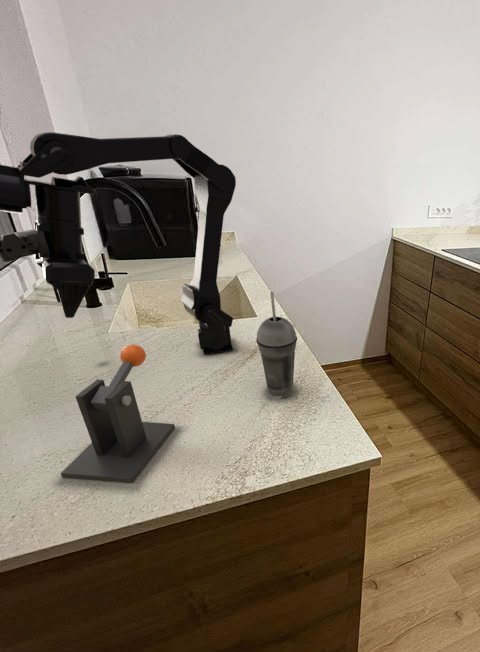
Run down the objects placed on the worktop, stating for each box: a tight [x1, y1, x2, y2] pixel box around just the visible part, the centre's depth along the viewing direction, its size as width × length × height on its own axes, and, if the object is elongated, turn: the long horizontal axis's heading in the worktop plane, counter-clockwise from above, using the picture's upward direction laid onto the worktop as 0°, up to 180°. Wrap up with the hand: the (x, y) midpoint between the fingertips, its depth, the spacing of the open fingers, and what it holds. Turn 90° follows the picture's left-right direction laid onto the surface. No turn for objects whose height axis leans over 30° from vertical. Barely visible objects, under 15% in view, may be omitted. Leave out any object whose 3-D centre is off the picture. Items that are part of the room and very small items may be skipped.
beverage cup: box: [255, 291, 298, 400], centre depth 70 cm, size 7×7×20 cm
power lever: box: [90, 344, 147, 412], centre depth 57 cm, size 11×3×3 cm, turn 176°
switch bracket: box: [60, 378, 176, 484], centre depth 56 cm, size 12×10×12 cm
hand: (65, 309), depth 68 cm, fingers open, 9 cm apart
